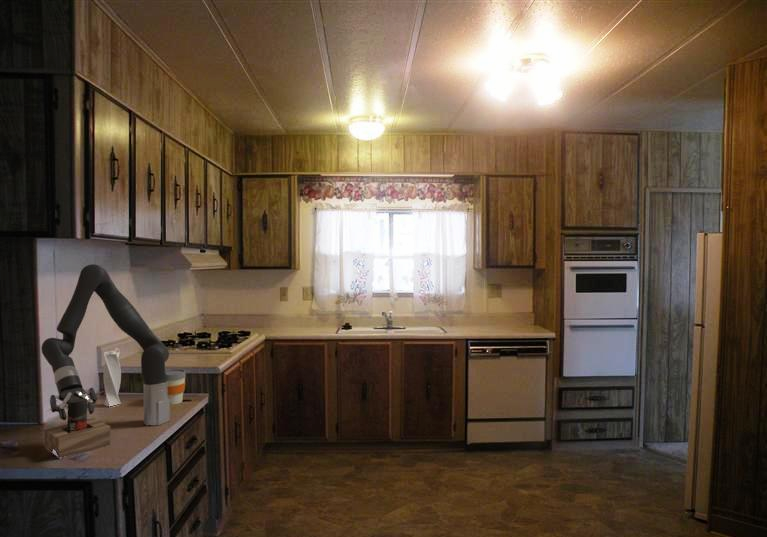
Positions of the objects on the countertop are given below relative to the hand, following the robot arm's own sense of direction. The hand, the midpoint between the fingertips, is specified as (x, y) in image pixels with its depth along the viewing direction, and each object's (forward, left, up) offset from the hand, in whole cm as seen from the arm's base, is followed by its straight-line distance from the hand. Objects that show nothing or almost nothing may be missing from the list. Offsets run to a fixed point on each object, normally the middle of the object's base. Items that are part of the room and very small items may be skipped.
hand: (78, 415), depth 163 cm
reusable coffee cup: (+10, -56, -12) cm, 58 cm away
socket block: (+1, 0, -12) cm, 12 cm away
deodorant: (+2, 0, -10) cm, 10 cm away
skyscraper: (+35, -44, -12) cm, 58 cm away
